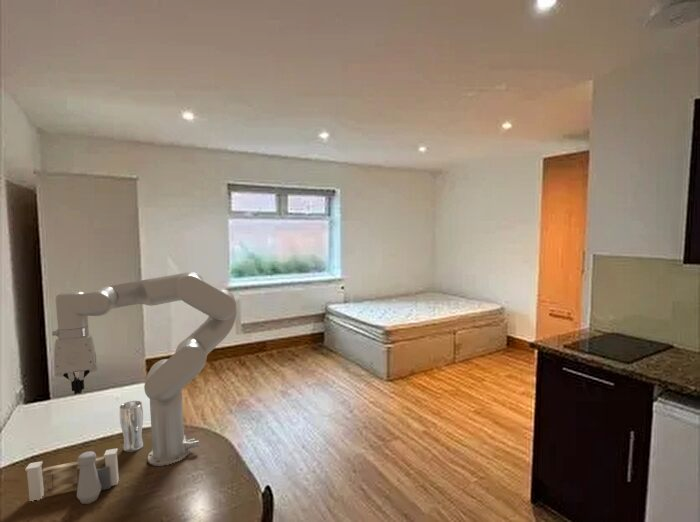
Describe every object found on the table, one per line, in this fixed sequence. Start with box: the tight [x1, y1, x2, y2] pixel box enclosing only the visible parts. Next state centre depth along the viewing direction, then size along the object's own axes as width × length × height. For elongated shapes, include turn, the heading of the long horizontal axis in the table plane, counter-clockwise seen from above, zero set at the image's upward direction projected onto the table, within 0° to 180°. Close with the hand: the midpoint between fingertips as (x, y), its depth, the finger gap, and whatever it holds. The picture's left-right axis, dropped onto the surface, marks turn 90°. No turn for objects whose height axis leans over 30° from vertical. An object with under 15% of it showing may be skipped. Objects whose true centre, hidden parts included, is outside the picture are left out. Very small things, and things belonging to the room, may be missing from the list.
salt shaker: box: [76, 450, 102, 505], centre depth 112 cm, size 6×6×13 cm
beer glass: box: [119, 400, 144, 453], centre depth 139 cm, size 7×7×15 cm
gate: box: [42, 455, 106, 496], centre depth 117 cm, size 15×2×7 cm, turn 112°
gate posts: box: [25, 448, 120, 502], centre depth 116 cm, size 22×4×10 cm, turn 109°
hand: (78, 392), depth 124 cm, fingers closed
